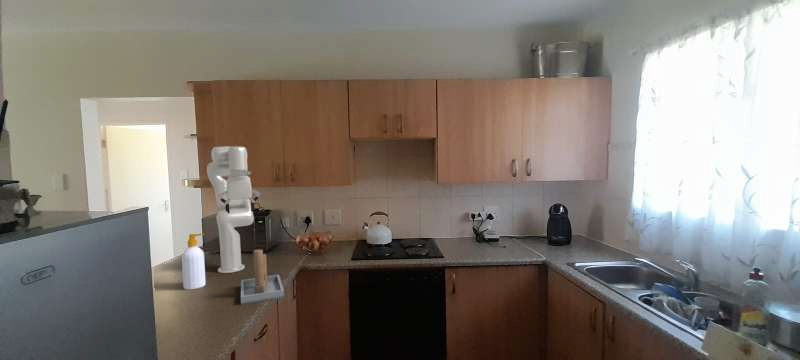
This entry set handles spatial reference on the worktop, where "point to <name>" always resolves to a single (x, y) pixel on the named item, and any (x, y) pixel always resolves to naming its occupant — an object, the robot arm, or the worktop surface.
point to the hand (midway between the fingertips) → (240, 212)
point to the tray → (271, 292)
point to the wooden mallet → (260, 271)
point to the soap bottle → (193, 265)
